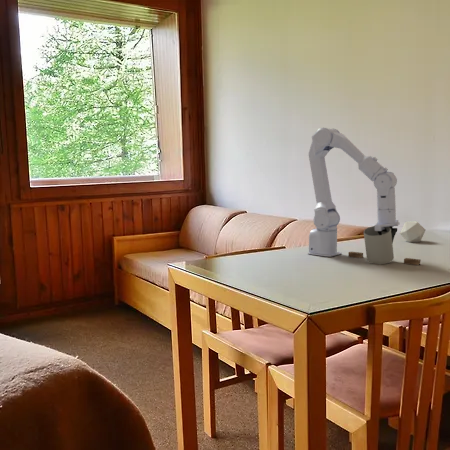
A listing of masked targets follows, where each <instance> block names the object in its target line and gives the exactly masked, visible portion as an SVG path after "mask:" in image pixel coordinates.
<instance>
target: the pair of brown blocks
mask: <svg viewBox="0 0 450 450" xmlns="http://www.w3.org/2000/svg"><path fill="white" fill-rule="evenodd" d="M348 257H349V258H357V259H362V258H364V252H359V251H358V252H357V251H349V252H348ZM403 264H406V265H412V264H413V265H412V266H419V264H420V265H421V259H418V258H410V257H409V258H408V257H404V259H403Z"/></svg>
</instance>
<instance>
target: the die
mask: <svg viewBox="0 0 450 450" xmlns="http://www.w3.org/2000/svg"><path fill="white" fill-rule="evenodd" d="M425 232H426V229H425V227H424V226H422V225H421V224H420V223H419V221H416V220H415V221H405V222H404V223H403V225H402V228H401V230H400V233H399V235H400V236H401V237H403V239H405V241H406V242H407V243H420V242H422V239H423V237H424V236H425V235H424V234H425Z"/></svg>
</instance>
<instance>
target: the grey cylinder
mask: <svg viewBox="0 0 450 450" xmlns="http://www.w3.org/2000/svg"><path fill="white" fill-rule="evenodd" d="M384 228H386V230H387V232H382V235H379V234H378V231H375V225H372V226H369V227H367V228H365V229H364V230H363V239H364V246H365V247H364V248H365V254H366V261H367V263H370V264H376V265H385V264H389V263H390V262H392V261H393V260H394V259H395V256H394V247H393V244H392V235H391V229H390V228H389V227H384Z"/></svg>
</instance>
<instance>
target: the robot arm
mask: <svg viewBox="0 0 450 450" xmlns="http://www.w3.org/2000/svg"><path fill="white" fill-rule="evenodd" d="M334 148H336V149H340V150H342V151H343V152H344V153H345V154H347V155H348V156H349V157H350V158H352V159H353V160H354V161H355V162H356V163H357V166H358V167H357V168H358V170H359V171H361V173H363V174H364V175H365V176H366V178H368V180H370V181H371V182H373V186H374V188H375V189H376V206H377V207H376V208H377V212H376V213H377V215H376V216H377V223H375V224H374V226H375V231H378V234H379V235H382V232H387V230H386V228H384V227H389V228H390V229H391V235H392V245H393V242H394V239H395V236H396V234H397V231H398V228H397V227H398V226H399V225H400V222H399V219H397V217H396V215H397V213H396V211H397V210H396V208H397V207H396V206H397V205H396V189H395V188H396V186H397V182H398V178H397V176H396V174H395V173H394V172H392V171H388V167H384V166H383V165H382V164H380V162H378V160H379V159H378V158H377V157H376V156H374V157H373V156H371V155H365V154H364V153H363V152H362V151H361V150H360V149H359V148H358V147H357V146H356V145H355V144H354V143H353V142H352V141H351V140H350V139H348V137H347V136H346V135H345V134H343V133H341V132H340V131H339V130H338V129H336V128H328V127H319V128H318V129H317V130H316V131H315V132H314V133H313V134H312V136H311V144H310V148H309V151H308V160H309V166H310V172H311V177H312V183H313V189H314V195H315V201H316V205H315V206H314V209H313V211H314V216H313V225H314V226H315V228H313V229H311V230H310V232H309V234H308V252H307V255H313V256H321V257H330V258H332V257H335V256H339V255H341V254H342V252H341V251H338V225H339V224H340V222H341V217H340V214H339V212H338V210H337V208H336V207H337V206H336V205H335V203H334V202H333V199H332V195H331V189H330V188H331V186H330V182H329V177H328V169H327V163H326V156H327V155H328V153H329V152H330V151H331V150H333V149H334Z"/></svg>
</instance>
